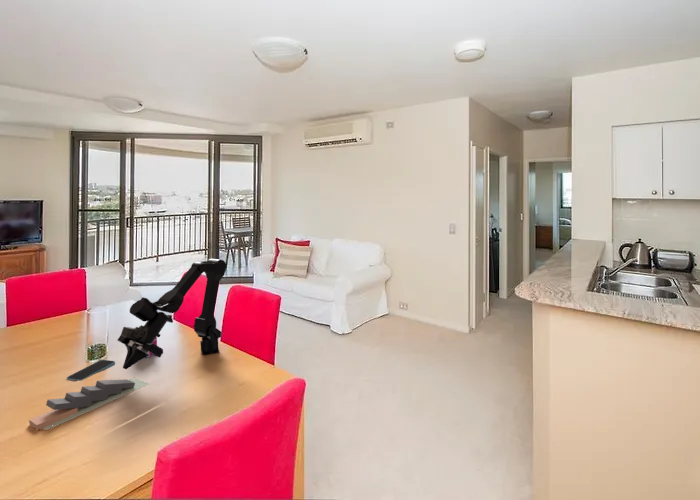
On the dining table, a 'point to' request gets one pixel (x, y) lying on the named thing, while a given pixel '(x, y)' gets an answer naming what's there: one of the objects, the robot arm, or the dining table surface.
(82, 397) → the domino
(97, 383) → the domino
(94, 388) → the domino
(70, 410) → the domino
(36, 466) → the dining table surface
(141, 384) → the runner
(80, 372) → the smartphone
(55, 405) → the domino
